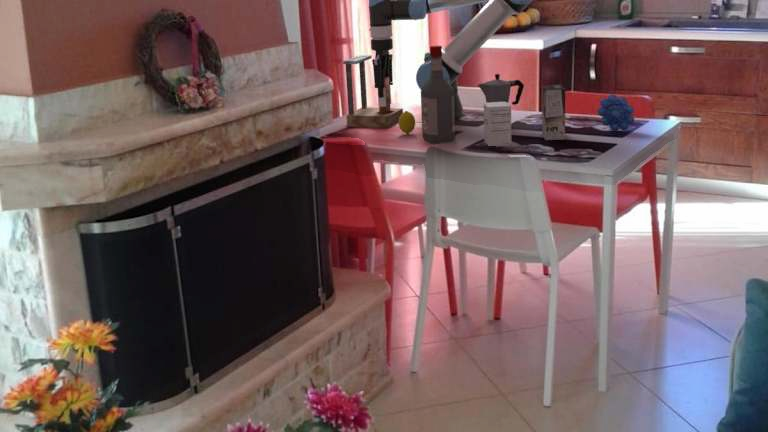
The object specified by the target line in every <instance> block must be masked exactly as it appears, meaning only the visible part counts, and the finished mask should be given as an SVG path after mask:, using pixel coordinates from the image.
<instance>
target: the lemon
mask: <svg viewBox="0 0 768 432" xmlns="http://www.w3.org/2000/svg"><path fill="white" fill-rule="evenodd" d="M398 126H399V130H400V131H401V132H402V133H404V134H405V135H409V134H410V133H412V132H413V131H414V130H415V127H416V118H415V116H414V114H413V113H412V112H410V111H408V110H405V111H403V113H402V114H401V115H400V117H399V122H398Z"/></svg>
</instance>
